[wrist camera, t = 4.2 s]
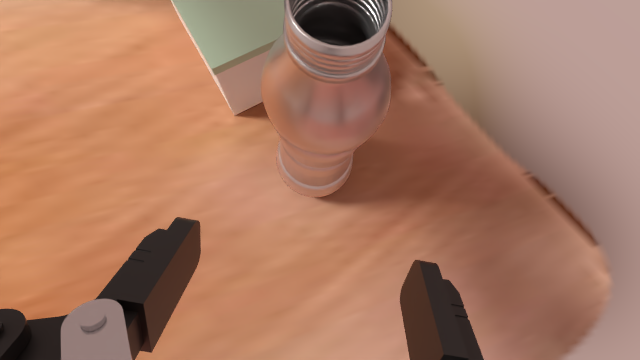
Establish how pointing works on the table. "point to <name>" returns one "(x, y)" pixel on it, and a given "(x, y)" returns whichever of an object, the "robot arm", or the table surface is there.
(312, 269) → the table surface
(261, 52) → the raised stand
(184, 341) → the table surface
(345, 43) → the plastic bottle
